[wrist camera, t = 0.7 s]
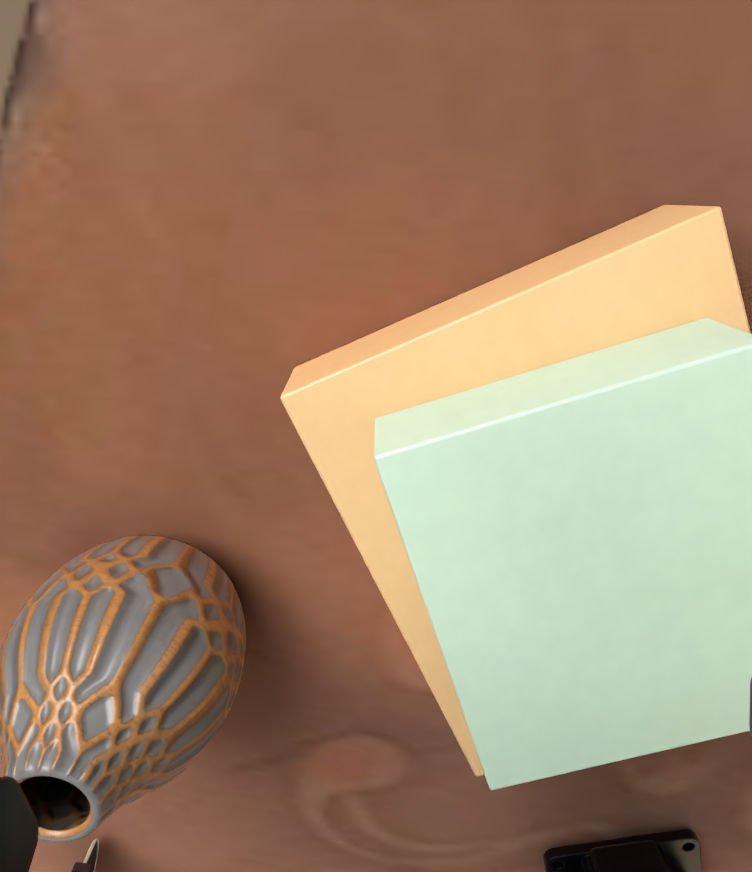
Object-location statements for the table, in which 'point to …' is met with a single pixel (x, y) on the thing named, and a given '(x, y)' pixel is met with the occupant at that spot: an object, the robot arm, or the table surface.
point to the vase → (116, 678)
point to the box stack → (560, 495)
